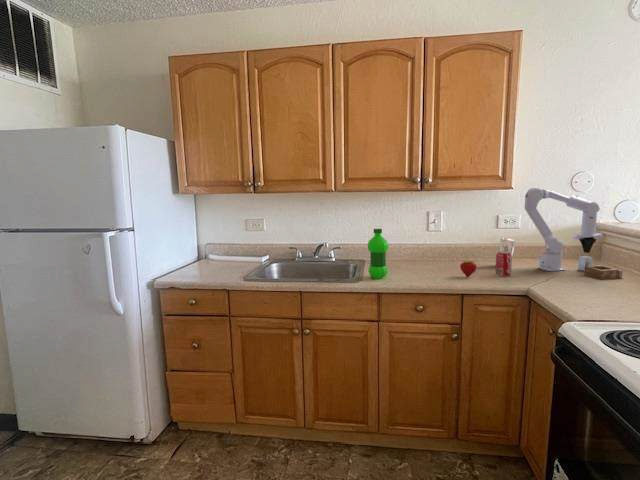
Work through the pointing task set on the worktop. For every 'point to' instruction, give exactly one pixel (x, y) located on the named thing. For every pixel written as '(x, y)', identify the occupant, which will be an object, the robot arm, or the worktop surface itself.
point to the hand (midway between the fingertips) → (586, 252)
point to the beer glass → (507, 245)
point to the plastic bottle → (378, 255)
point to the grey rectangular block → (584, 262)
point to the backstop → (620, 274)
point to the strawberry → (468, 268)
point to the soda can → (503, 263)
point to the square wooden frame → (601, 272)
